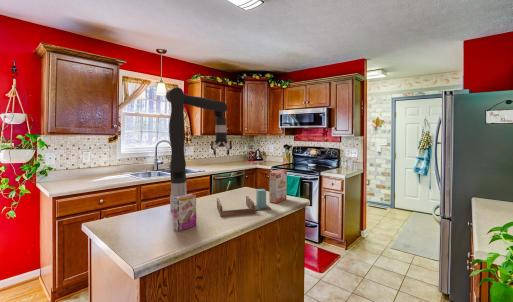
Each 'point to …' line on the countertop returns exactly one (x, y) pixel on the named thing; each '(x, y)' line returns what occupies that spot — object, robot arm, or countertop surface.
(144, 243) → the countertop surface
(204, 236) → the countertop surface
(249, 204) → the lane
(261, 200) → the teal block
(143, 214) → the countertop surface
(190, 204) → the candy bar box
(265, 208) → the pad
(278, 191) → the cracker box
